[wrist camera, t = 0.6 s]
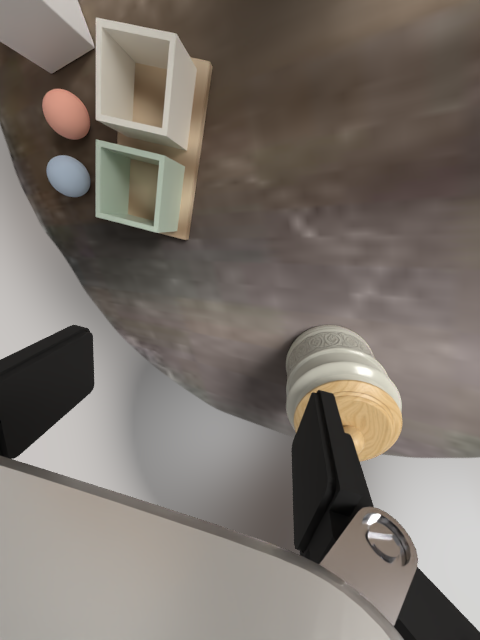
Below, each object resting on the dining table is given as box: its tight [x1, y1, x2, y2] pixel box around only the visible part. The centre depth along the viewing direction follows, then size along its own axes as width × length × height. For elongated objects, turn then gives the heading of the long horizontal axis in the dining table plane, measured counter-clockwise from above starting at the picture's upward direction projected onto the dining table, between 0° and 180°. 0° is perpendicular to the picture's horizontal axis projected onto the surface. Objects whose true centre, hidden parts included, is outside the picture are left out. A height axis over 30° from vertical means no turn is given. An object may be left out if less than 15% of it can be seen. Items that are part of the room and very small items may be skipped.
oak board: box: [117, 57, 213, 240], centre depth 34 cm, size 20×11×1 cm, turn 167°
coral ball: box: [42, 89, 90, 140], centre depth 32 cm, size 5×5×5 cm
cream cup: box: [96, 18, 197, 151], centre depth 28 cm, size 8×8×6 cm
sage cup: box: [96, 139, 185, 233], centre depth 32 cm, size 8×8×6 cm
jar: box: [286, 325, 402, 461], centre depth 33 cm, size 13×13×18 cm
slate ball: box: [47, 155, 91, 197], centre depth 35 cm, size 5×5×5 cm
